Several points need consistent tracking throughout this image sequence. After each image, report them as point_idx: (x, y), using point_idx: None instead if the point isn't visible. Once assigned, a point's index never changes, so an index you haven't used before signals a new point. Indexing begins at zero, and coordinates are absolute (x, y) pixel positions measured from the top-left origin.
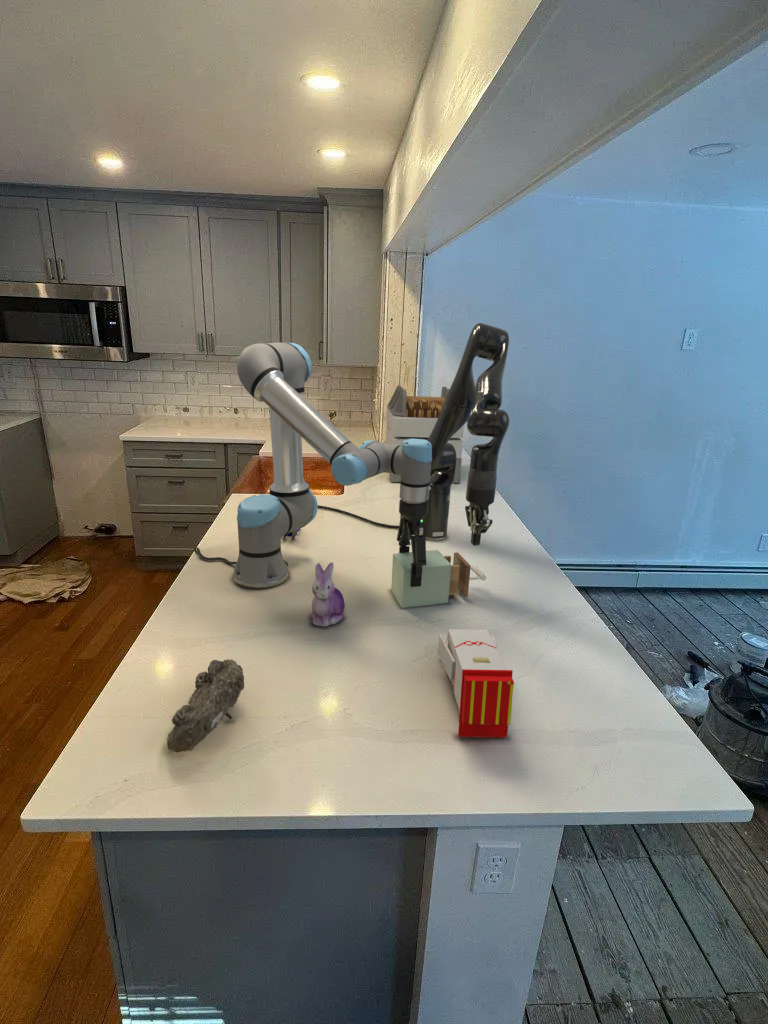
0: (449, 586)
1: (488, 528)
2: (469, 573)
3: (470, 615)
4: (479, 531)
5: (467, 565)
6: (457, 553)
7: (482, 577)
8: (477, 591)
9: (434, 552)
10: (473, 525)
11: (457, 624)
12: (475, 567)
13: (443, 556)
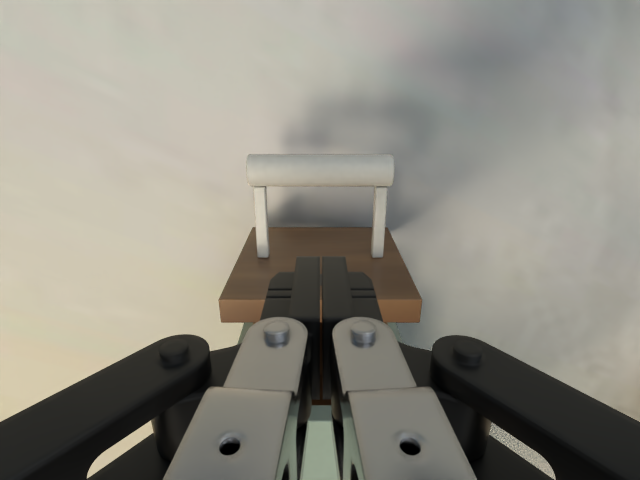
0: (400, 338)
1: (628, 421)
2: (410, 277)
3: (492, 254)
4: (509, 459)
5: (415, 316)
6: (237, 308)
7: (393, 179)
8: (322, 147)
9: None
10: (302, 467)
11: (527, 317)
12: (285, 176)
13: (310, 422)
